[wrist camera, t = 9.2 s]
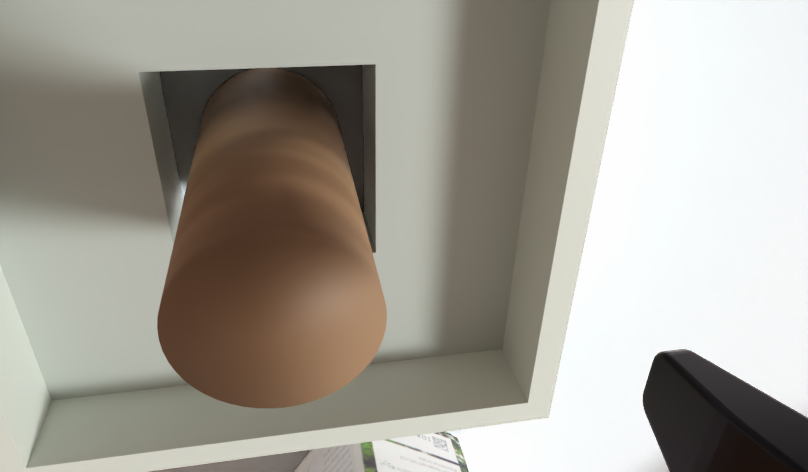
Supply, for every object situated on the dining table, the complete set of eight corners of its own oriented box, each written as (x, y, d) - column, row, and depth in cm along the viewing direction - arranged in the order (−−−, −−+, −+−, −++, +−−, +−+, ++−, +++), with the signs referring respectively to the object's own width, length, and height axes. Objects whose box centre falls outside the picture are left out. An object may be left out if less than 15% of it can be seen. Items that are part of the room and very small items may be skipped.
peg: (336, 65, 18) (388, 223, 11) (340, 189, 20) (386, 395, 13) (191, 69, 17) (136, 242, 10) (211, 197, 19) (177, 420, 12)
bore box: (564, -176, 16) (671, -183, 12) (499, 319, 24) (548, 417, 20) (-153, -201, 13) (-346, -222, 9) (53, 366, 22) (3, 491, 17)
